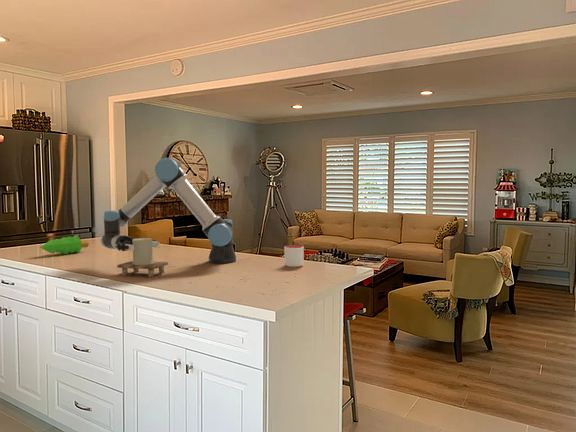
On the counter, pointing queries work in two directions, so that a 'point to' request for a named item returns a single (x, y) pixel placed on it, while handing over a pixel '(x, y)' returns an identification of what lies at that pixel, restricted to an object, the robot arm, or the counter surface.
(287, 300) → the counter surface
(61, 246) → the decorative tree
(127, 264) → the wooden pallet
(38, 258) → the counter surface
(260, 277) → the counter surface
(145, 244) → the grey-green block
